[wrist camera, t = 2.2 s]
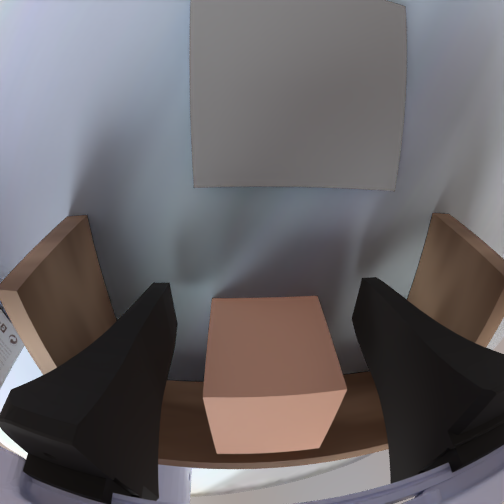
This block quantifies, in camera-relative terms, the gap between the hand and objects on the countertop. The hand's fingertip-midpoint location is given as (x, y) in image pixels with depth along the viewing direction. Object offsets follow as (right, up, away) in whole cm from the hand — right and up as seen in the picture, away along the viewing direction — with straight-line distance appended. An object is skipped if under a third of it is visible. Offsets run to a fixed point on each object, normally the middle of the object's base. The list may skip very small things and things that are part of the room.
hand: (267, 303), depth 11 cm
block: (0, -2, +3) cm, 4 cm away
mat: (+1, +7, -3) cm, 8 cm away
